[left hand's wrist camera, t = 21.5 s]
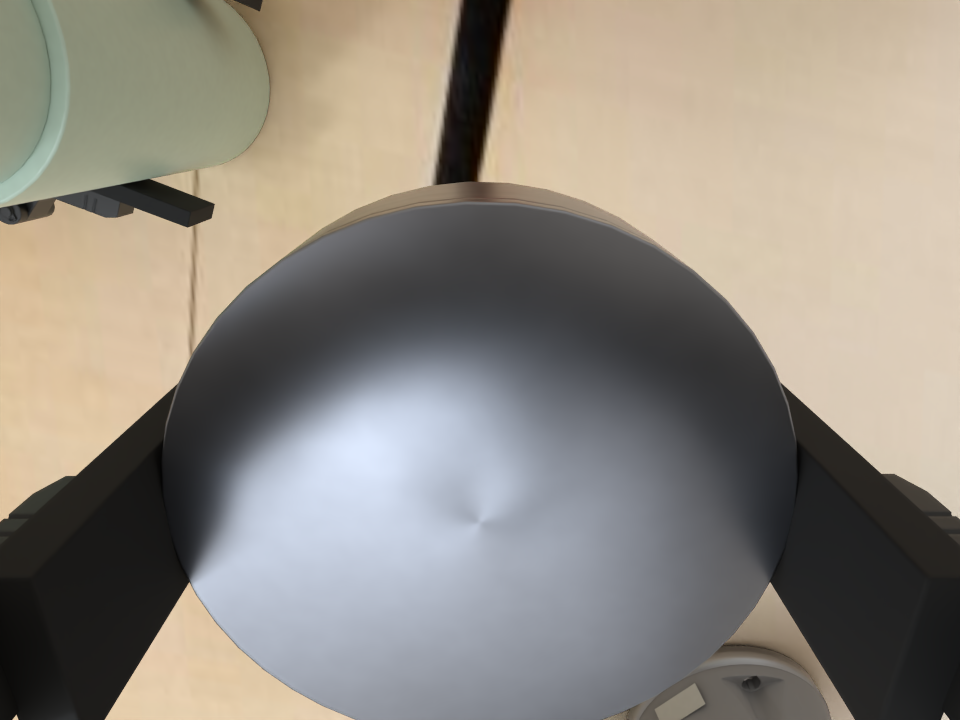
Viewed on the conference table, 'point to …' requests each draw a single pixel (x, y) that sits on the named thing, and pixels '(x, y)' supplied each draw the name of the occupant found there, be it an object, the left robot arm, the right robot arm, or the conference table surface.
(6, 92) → the jar
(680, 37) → the conference table surface
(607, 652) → the lid
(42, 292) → the conference table surface
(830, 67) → the conference table surface
